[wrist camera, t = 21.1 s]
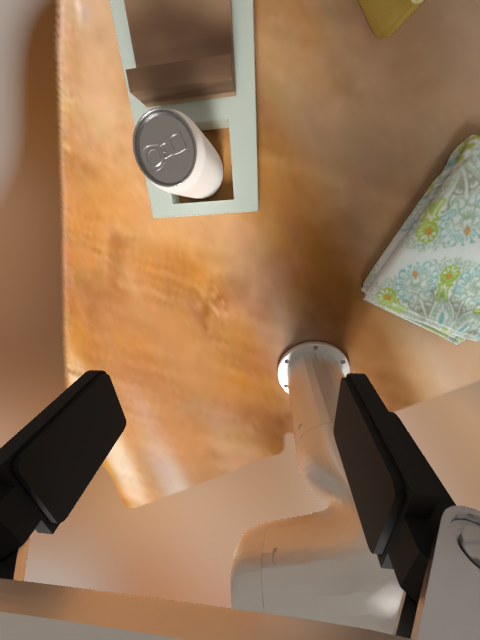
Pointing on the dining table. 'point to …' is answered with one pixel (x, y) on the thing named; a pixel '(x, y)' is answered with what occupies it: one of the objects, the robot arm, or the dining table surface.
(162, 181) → the can
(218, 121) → the well board
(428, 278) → the towel
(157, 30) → the lid
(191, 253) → the dining table surface
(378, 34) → the flower pot
